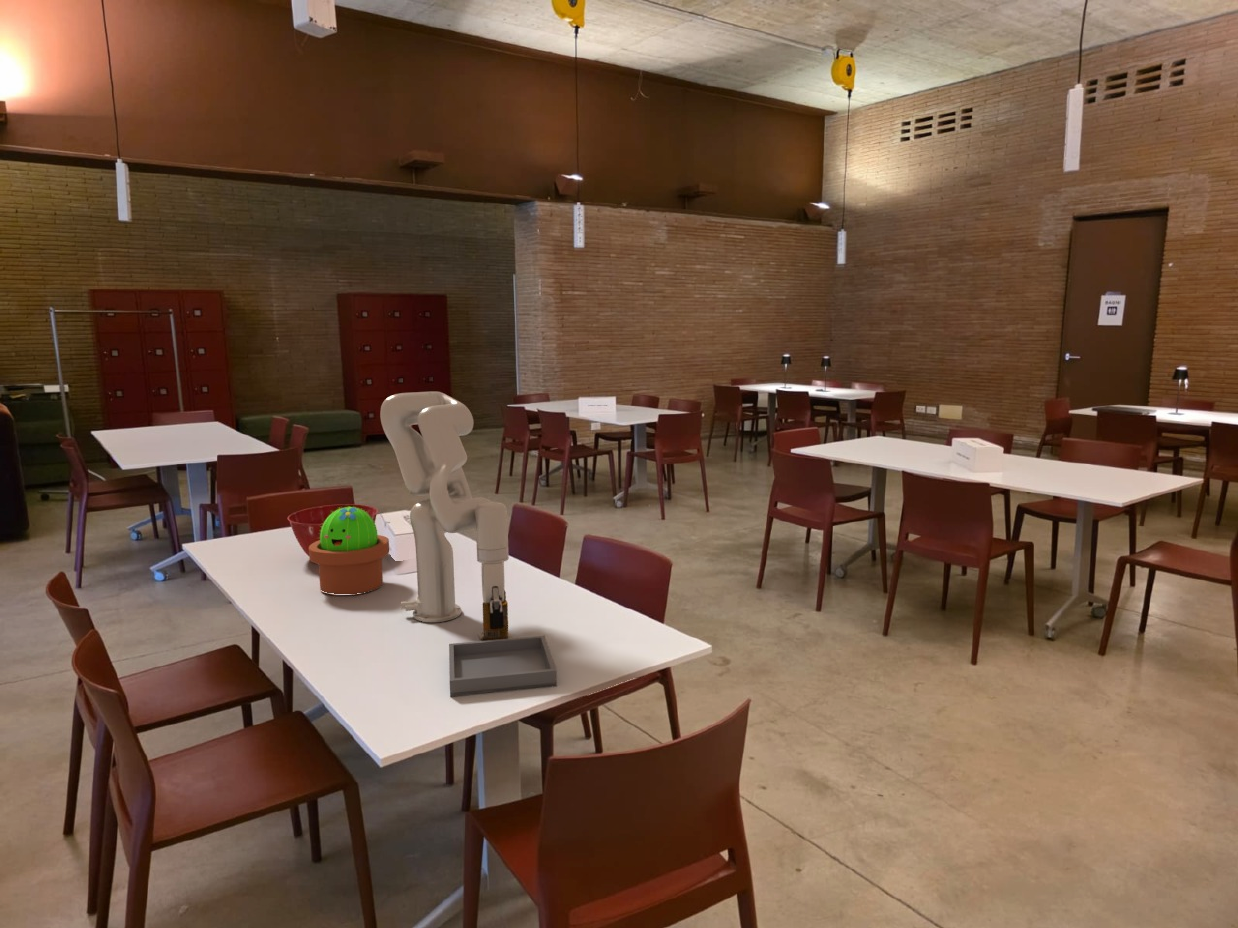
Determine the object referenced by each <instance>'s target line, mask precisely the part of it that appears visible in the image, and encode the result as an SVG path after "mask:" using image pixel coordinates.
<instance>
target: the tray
mask: <svg viewBox="0 0 1238 928" xmlns="http://www.w3.org/2000/svg"><path fill="white" fill-rule="evenodd" d="M549 647H550V646H549V644H548V642H547V639H546V636H545V635H535V636H523V637H515V638H514V637H511V638H510V639H499V640H487V641H481V640H477V641H469V642H465V641H464V642H455V643H449V644H448V654H449V655H448V660H449V662H448V664H449V665H448V668H449V669H448V670H449V672H448V673H449V694H450V695H449V696H450V698H453V697H454V698H455V697H463V696H464V697H465V696H470V695H471V696H473V695H483V694H494V693H502V692H512V691H513V692H514V691H521V690H530V689H542V688H553V687H557V684H558V683H557V681H558V680H557V676H558V675H557V668H556V665H555V662H554V659H553V657H552V654H551V651H550V650H551V649H550V648H549ZM552 686H553V687H552Z"/></svg>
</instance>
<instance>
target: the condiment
mask: <svg viewBox="0 0 1238 928" xmlns="http://www.w3.org/2000/svg"><path fill="white" fill-rule="evenodd" d="M492 593H493V589H492ZM506 593H507V592H506V591H505V589H504V601H503V602H502V612H503V622H504V627H503V628H501V629H490V615H489V613H491V612H490V602H488V603H487V604H485V603H484V601H483V602H482V627H483V628H482V631H483V632H482V633H478V636H479V639H480V641H487V640H499V639H510V638H512V636H511V635H510V633H509V617H508V616H509V613H508V612H509V611H508V607H509V605H508V601H507V599H506V598H507V596H506V595H507V594H506ZM491 600H494V599H491ZM493 605H494V604H492V606H493Z"/></svg>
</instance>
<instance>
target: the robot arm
mask: <svg viewBox="0 0 1238 928" xmlns="http://www.w3.org/2000/svg"><path fill="white" fill-rule="evenodd" d="M379 413H380V422H381V426H382V429H383V432H384V434H385V436H386V438H387V439H388V441H389V444H391V446H392V448H393V450H394V453H395V456H396V459H397V463H398V466H399V469H400V472H401V475H402V479H403V481H404V484H405V485H404V486H405V487H406V490H407V492H409V493H410V494H411V495H413V496H417V497H420V496H421V497H422V496H428V495H429V498H426V499H425V498H424V499H422V500H419V501H417V502H416V503H415V504H414V505H413V506H412V507H411V509H410V513H409V517H410V524H411V529H412V532H413V537H414V538H413V539H414V543H415V545H414V546H415V559H416V561H415V563H416V578H417V597H416V599H413V601H401V602H400V608H401V610H405V612H410V611H413V612H412V617H413V619H415V620H416V621H418V622H421V621H422V622H421V623H441V622H443V623H444V622H447V621H450V620H454V619H456V618H457V617H459V616H460V615H461V614H462V607H461V606H460V605H458V604H456V591H455V589H456V587H455V569H454V568H455V567H454V550H453V546H452V543H450V541H449V540H448V538H447V537H446V536H445V534H446V533H449V534H456V533H462V532H466V531H471V530H475V539H476V541H475V542H476V559H477V560H476V561H477V562H478V563H481V589H482V590H481V593H482V595H481V596H482V601H483V602H484V603H485V604H487V603H488V602H490V612H491V613H489V615H490V629H501V628H503V627H504V622H503V612H502V602H503V601H504V590H505V562H507V561H508V560H509V536H508V511H507V510H508V509H507V506H506V504H504V503H503V502H498V501H492V500H491V499H488V498H486V497H484V496H481V497H479V496H478V497H474V498H473V496H472V493H471V489H470V486H469V483H468V481H467V477H466V474H465V473H464V472H465V471H464V469H463V468H462V466H464V465H465V464H466V463H467V460H468V455H467V452H466V450H465V447H464V445H463V443H462V440H461V437H460V436H467V435H468V434H470V433H471V432H472V431H473V428H474V417H473V415H472V413H471V411H470V409H469V408H468V407H467V406H466V405H465V404H464V403H463V402H461V401H459V400H457V399H455V398H454V397H451V396H449V395H447V394H446V393H443V392H441V391H419V392H418V391H417V392H401V393H395V394H393V395H390V396H388V397H387V398H386V399H384V401H383V402H382V404H381V406H380V412H379ZM413 425H417V426H418V428H419V431H420V433H419V432H418V431H417V430H415V429H414V428H413ZM492 589H493V593H492ZM491 599H494V600H491ZM492 604H494V605H493V606H492Z"/></svg>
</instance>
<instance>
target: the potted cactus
mask: <svg viewBox="0 0 1238 928" xmlns="http://www.w3.org/2000/svg"><path fill="white" fill-rule="evenodd" d="M356 507H357V506H356ZM339 508H340V507H339ZM339 508H338V510H336V511H334V512H332V514H330V515H328V517H327V519H326V520H325V522H323V523H324V524H323V526H321V527H322V529H321V530H320V531H321V533H320V540H319V541H316V542H314V543H312V544H311V545H310V546H309V556H308V557H309V561H310V562H311V563H314V564H317V565H318V571H319V572H318V574H319V588H320V591H321V590H322V591H324V592H327V593H334V594H357V593H364V592H368V591H371V590H373V591H375V589H376V590H377V589H379V588H381V586H382V585H383V582H384V580H383V579H384V576H383V563H382V562H383V561H382V559H383V558H384V557H386V556H388V554H389V553H390V540H389V538H388V537H387V536H385V535H380V534H378V532H379V529H377V525H376V520H375V521H373V519H372V518H371V517H370V516H369V515H368V514H367V513H366V512H365V511H363V510H362V508H361V509H359V508H355V507H350V506H349V507H344V508H340V509H339ZM374 522H375V523H374ZM322 591H321V592H322ZM371 592H372V591H371ZM368 593H369V592H368ZM364 594H365V593H364Z"/></svg>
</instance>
